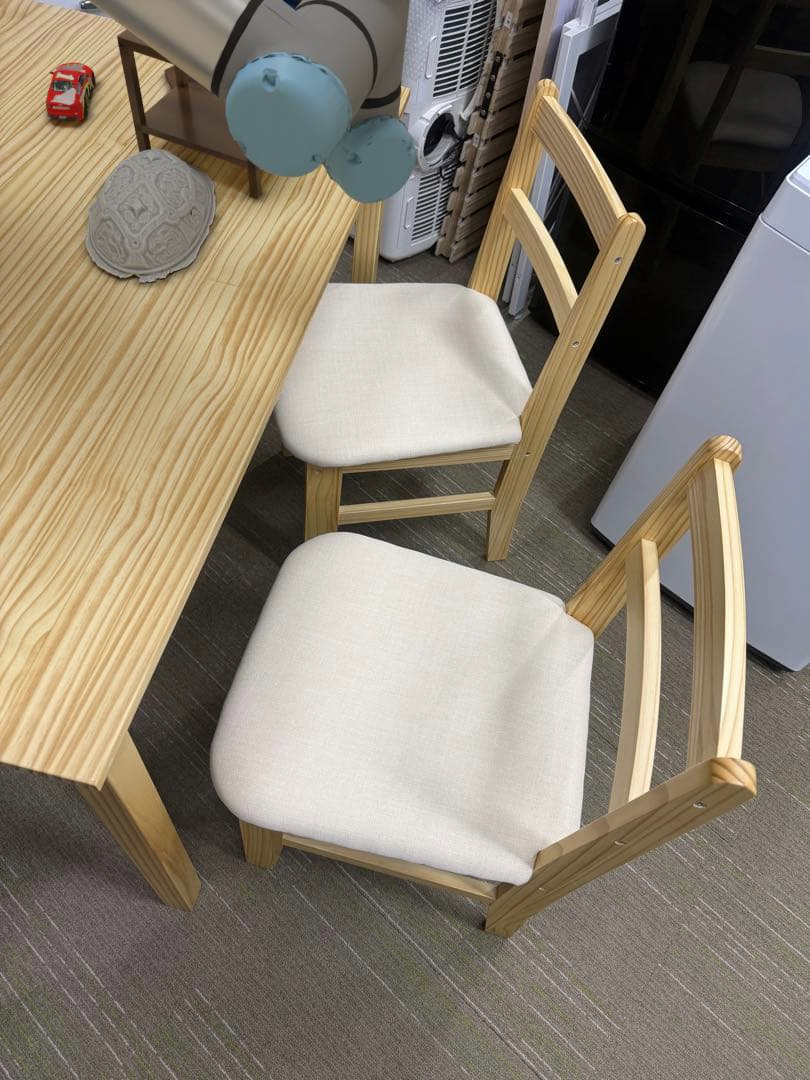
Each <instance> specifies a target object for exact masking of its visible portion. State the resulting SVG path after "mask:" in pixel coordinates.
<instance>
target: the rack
mask: <svg viewBox="0 0 810 1080" xmlns="http://www.w3.org/2000/svg"><path fill="white" fill-rule="evenodd" d="M116 39H117V45H118V51H119V55H120V61H121V66H122V71H123V76H124V81H125V87H126V91H127V96H128V102H129V106H130V113H131V117H132V122H133V128H134V132H135V137H136V142H137V148H138V153H139V152H142V151H146V150H151V149H152V146H151V139H150V136H152V137H156V138H157V139H158V138H159V139H161V140H164V141H167V142H169V143H173V144H175V145H178V146H181V147H183V148H187V149H190V150H192V151H195V152H198V153H201V154H205V155H207V156H210V157H212V158H214V159H215V158H216V159H219V160H220V161H221V160H222V161H224V162H227V163H230V164H233V165H236V166H239V167H241V168H245V169H247V175H248V189H249V197H251V198H253V199H255V200H259V198H260V197H262V194H263V193H262V176H261V174H262V173H261V169H260V168H259V167H257V166H256V165H255V164H253V163H252V162H251V161H250V160H249V159H248V158H247V157H246V156H245V155H244V151H243V150H242V149H241V147H240V146H239V144H238V143H237V141H235V140H234V139H233V137H232V135H231V133H230V131H229V126H228V123H227V118H226V103H225V102H224V101H222V100H221V99H220V98H219V97H217V96H216V95H215V94H213V93H212V92H211V91H208V90H205V89H202V88H199V87H196V86H193V85H190V84H188V77H187V74H186V73H185V72H184V71H182V70H181V69H180V68H178V67H177V66H176V65H174V64H173V63H172V62H170V61H169V60H168V59H166V58H165V57H164V56H162V55H161V54H159V53H158V52H157V51H155V50H154V49H153V48H151V47H150V46H149V45H147V44H146V43H145V42H143V41H142V40H141V39H139V38H138V37H137V36H135V35H134V34H133V33H131V32H130V31H128V30H127V29H126V28H125V29H124V30H123V31H122V32H120V33H119V34H117V35H116ZM135 53H138V54H140V55H143V56H146V57H149V58H152V59H155V60H158V61H161V62H165V63H168V64H170V65H172V66H174V68H175V75H176V83H177V86H175V87H174V88H173V89H172V90H171V89H170V91H168V92H167V93H166V94H165V95H164V96H163V97H161V98H160V99H159V100H158V101H157V102H156V103H154V104H153V105H152V106H151V107H150V108H149V109H147V110H146V111H145V106H144V102H143V96H142V91H141V84H140V79H139V74H138V69H137V63H136V57H135Z"/></svg>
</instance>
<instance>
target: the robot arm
mask: <svg viewBox="0 0 810 1080" xmlns="http://www.w3.org/2000/svg"><path fill="white" fill-rule="evenodd" d="M87 1H88V2H89V3H91V4H92V5H94V6H95V7H96V8H97V9H99V10H100V11H101V12H103V13H104V14H105V15H107V16H108V17H110V18H111V19H112V20H114V21H115V22H116V23H118V24H119V25H120V26H122V27H123V28H124V29H125V30H126V29H127V30H128V31H130V32H131V33H133V34H134V35H135V36H137V37H138V38H139V39H141V40H142V41H143V42H145V43H146V44H147V45H149V46H150V47H151V48H153V49H154V50H155V51H157V52H158V53H159V54H161V55H162V56H164V57H165V58H166V59H168V60H169V61H170V62H172V63H173V64H174V65H176V66H177V67H178V68H180V69H181V70H182V71H184V72H185V73H186V74H188V75H189V76H190V77H192V78H193V79H194V80H196V81H197V82H199V83H200V84H201V85H203V86H204V87H205V88H207V89H208V90H209V91H211V92H212V93H213V94H215V95H216V96H217V97H219V98H220V99H221V100H222V101H224V102H225V103H226V118H227V123H228V126H229V131H230V133H231V135H232V137H233V139H234V140H235V141H237V143H238V144H239V146H240V147H241V149H242V150H243V151H244V155H245V156H246V157H247V158H248V159H249V160H250V161H251V162H252V163H253V164H255V165H256V166H257V167H259V168H260V170H262V171H264V172H266V173H268V174H271V175H273V176H277V177H283V178H299V177H303V176H305V175H308V174H310V173H313V172H314V171H315V170H316V169H318V168H319V167H320V166H321V165H322V166H323V167H324V169H325V171H326V172H325V173H327V175H328V177H329V178H330V179H331V180H332V181H333V182H335V183H336V184H337V185H338V186H339V188H340V189H341V190H342V191H343V192H344V194H346V195H347V197H349V198H351V199H352V200H353V201H355V202H357V203H361V204H362V203H363V204H376V203H379V202H384V201H385V200H388V199H390V198H391V197H393V196H395V195H396V194H397V193H398V192H399V191H400V190H401V189H403V187H404V186H405V185H406V183H407V182H408V181H409V179H410V177H411V175H412V174H413V171H414V169H415V165H416V159H417V150H416V145H415V142H414V140H413V137H412V135H411V134H410V133H409V129H408V127H407V126H406V123H405V122H403V121H402V120H401V118H400V107H401V98H402V79H403V78H402V77H403V69H404V60H405V51H406V43H407V32H408V24H409V23H408V22H409V15H410V5H411V0H297V1H298V3H299V4H298V5H297V6H296V7H295V8H293V7H292V6H290V5H289V4H288V3H286V2H285V1H284V0H87ZM173 64H172V65H173ZM174 65H173V66H174Z"/></svg>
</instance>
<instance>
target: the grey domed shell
mask: <svg viewBox="0 0 810 1080" xmlns="http://www.w3.org/2000/svg"><path fill="white" fill-rule="evenodd" d="M216 197H217V196H216V195H215V184H214V182H213V180H212V179H211V177H210V176H209V175H208V174H207V173H206V172H204V171H203V170H202V169H201V168H199V167H197V166H195V165H193V164H190V163H188V162H186V161H184V160H182V159H181V158H179V157H178V156H177V155H175V154H173V153H171V151H169V150H165V149H162V148H151V150H146V151H142V152H139V151H138V152H137V153H134V154H132V155H130V156H128V157H126V158H124V159H123V160H121V161H120V162H119V163H118V164H117V166H115V167H114V169H113V170H112V172H111V173H110V174H109V175H108V176H107V178H106V179H105V183H104V185H103V187H102V188H101V190H100V192H99V193H98V194H97V196H96V198H95V199H94V201H93V202H91V203H90V205H89V207H88V209H87V211H88V212H89V218H88V219H89V220H88V221H87V229H86V231H87V232H86V234H87V236H86V238H85V241H84V243H85V247H86V252H88V253H89V257H90V258H91V261H92V262H94V263H95V264H96V266H98V267H99V268H100V269H102V270H104V271H106V272H107V273H109V274H111V275H114V276H117V277H118V278H120V279H122V278H124V279H126V278H129V277H132V276H133V275H135V276H136V277H138V278H139V281H138V283H147V282H148V283H151V282H155V281H156V280H157V279H165V278H166V277H167V276H168V275H169V273H173V272H177V271H178V270H179V271H180V270H182V269H184V268H187V267H188V266H189V265H191V264H192V263H193V262H194V261H195V260H196V259H197V255H198V253H199V250H200V248H201V246H202V245H203V243H204V241H205V240H206V238H207V236H208V235H209V234H210V226H211V225H212V224H213V222H214V218H215V213H216V202H217V201H216Z"/></svg>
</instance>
